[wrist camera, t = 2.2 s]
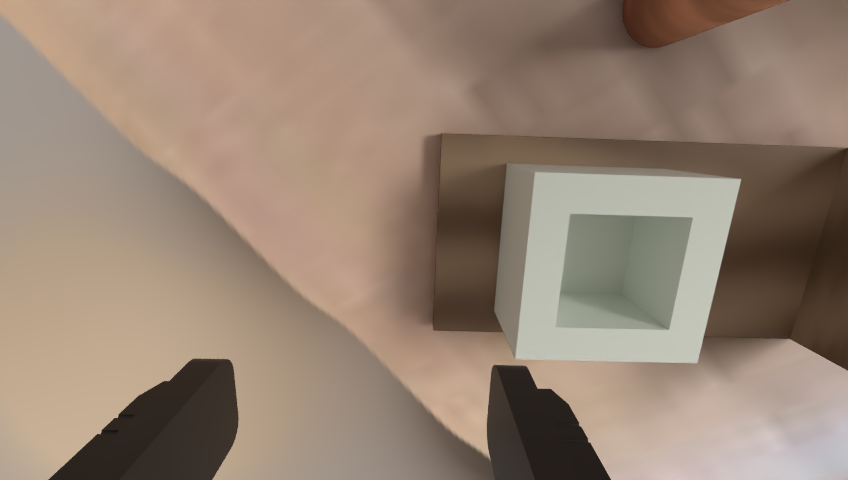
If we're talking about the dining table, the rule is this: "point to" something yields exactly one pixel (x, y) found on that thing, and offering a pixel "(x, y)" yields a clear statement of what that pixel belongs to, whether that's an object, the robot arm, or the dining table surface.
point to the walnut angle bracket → (744, 251)
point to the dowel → (683, 17)
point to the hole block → (610, 261)
